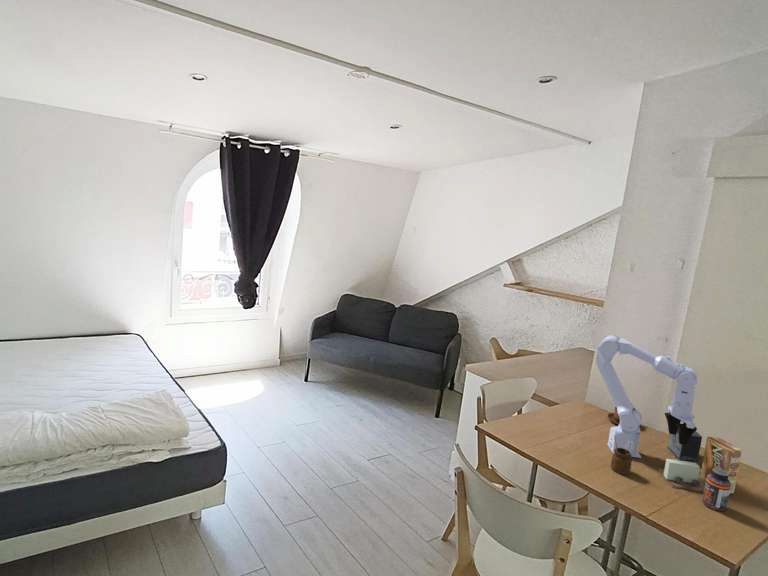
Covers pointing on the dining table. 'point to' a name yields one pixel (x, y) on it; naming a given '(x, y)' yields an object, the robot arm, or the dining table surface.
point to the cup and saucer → (614, 417)
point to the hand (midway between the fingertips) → (677, 438)
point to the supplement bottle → (717, 490)
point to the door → (681, 470)
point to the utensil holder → (621, 460)
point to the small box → (685, 447)
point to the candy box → (721, 459)
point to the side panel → (686, 483)
